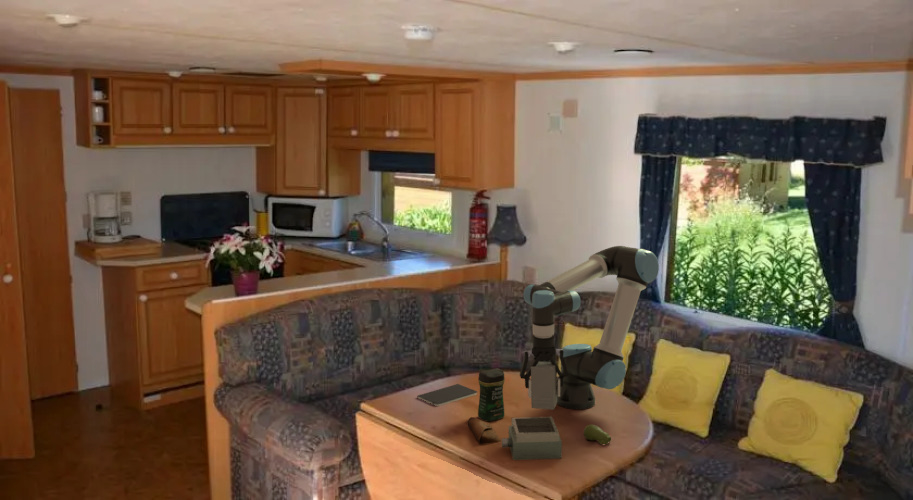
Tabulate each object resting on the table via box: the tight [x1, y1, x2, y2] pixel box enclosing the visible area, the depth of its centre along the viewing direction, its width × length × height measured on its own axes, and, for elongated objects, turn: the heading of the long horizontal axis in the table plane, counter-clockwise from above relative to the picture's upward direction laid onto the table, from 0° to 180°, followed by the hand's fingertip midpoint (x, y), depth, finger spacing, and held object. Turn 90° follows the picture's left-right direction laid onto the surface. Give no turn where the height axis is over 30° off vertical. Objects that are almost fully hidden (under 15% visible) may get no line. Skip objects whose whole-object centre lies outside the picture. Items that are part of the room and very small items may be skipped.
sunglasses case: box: [467, 416, 502, 445], centre depth 287 cm, size 18×7×7 cm
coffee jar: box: [477, 367, 506, 422], centre depth 301 cm, size 10×8×19 cm
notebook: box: [416, 383, 478, 407], centre depth 325 cm, size 13×2×21 cm
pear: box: [583, 424, 612, 445], centre depth 280 cm, size 6×5×10 cm
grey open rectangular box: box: [501, 416, 563, 461], centre depth 272 cm, size 19×14×9 cm
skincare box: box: [530, 361, 558, 411], centre depth 285 cm, size 8×7×16 cm
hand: (544, 395), depth 286 cm, fingers closed on skincare box, 9 cm apart
